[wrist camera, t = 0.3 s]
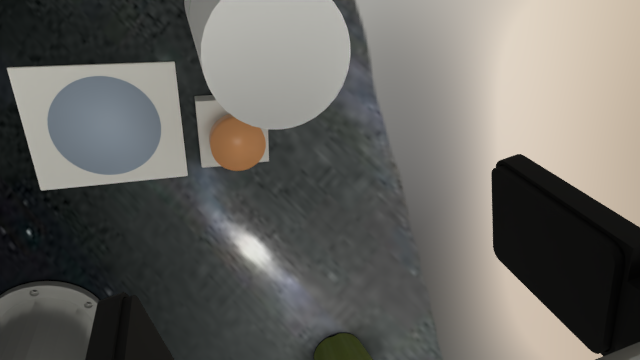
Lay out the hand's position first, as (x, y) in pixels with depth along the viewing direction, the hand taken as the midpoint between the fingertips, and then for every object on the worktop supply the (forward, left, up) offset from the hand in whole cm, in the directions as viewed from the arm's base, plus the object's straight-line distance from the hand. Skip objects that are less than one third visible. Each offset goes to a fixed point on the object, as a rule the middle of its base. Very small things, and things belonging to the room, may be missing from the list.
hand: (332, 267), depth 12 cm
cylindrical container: (+3, -1, -38) cm, 38 cm away
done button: (-9, -1, -34) cm, 35 cm away
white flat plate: (-8, +11, -38) cm, 40 cm away
